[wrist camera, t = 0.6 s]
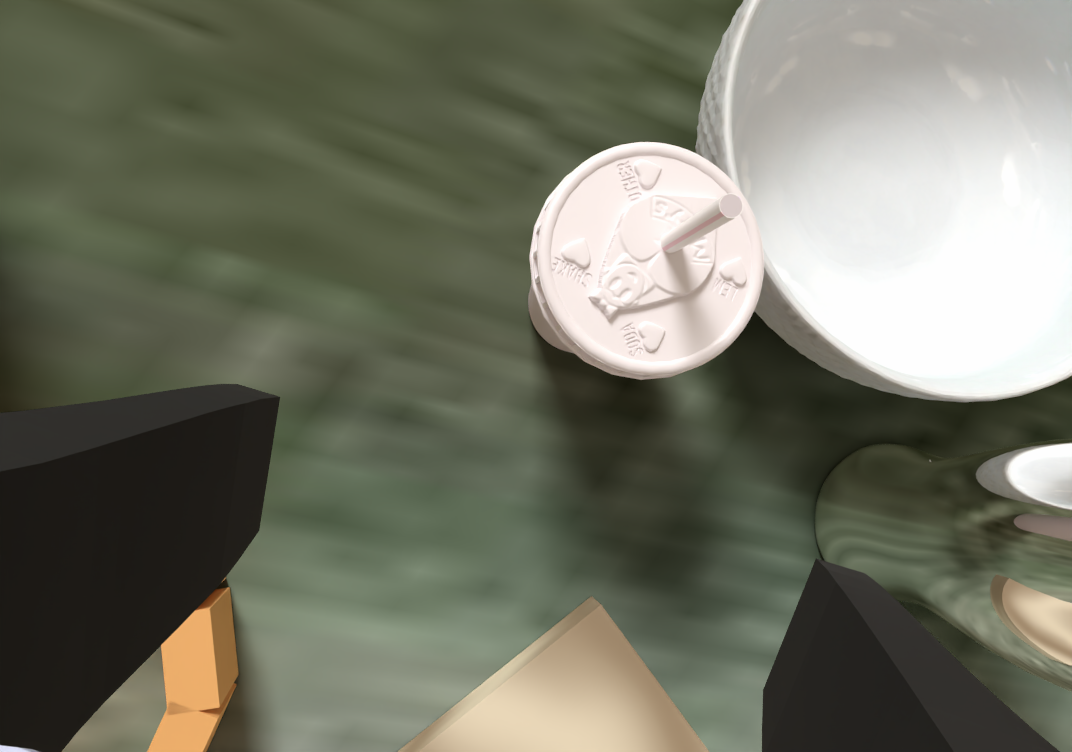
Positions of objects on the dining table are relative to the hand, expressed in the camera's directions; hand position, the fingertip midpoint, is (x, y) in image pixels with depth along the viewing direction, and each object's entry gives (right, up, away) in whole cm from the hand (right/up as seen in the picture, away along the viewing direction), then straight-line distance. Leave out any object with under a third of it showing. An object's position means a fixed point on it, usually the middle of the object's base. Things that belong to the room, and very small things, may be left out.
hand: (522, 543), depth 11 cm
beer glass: (+14, -4, +23) cm, 27 cm away
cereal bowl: (+13, +9, +24) cm, 29 cm away
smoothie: (+2, +5, +22) cm, 22 cm away
